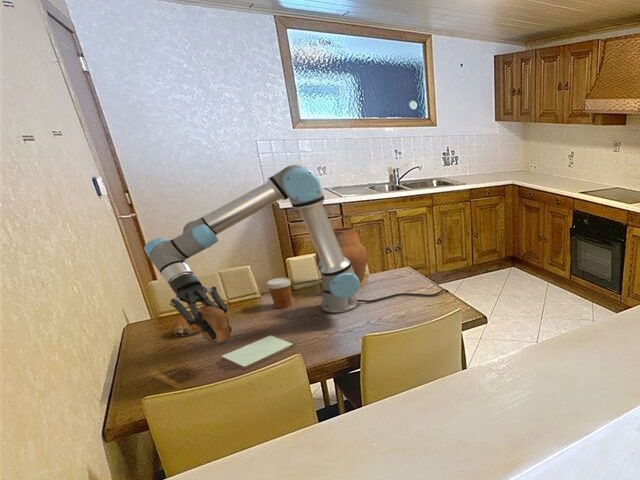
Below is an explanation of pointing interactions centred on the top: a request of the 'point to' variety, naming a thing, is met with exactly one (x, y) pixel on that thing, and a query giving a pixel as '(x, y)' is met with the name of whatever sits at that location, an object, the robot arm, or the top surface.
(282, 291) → the disposable coffee cup
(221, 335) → the eraser
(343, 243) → the pot
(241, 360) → the wipe board
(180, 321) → the bread roll
